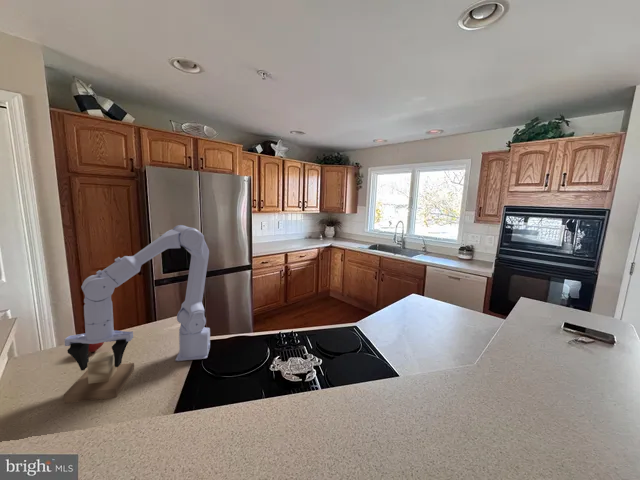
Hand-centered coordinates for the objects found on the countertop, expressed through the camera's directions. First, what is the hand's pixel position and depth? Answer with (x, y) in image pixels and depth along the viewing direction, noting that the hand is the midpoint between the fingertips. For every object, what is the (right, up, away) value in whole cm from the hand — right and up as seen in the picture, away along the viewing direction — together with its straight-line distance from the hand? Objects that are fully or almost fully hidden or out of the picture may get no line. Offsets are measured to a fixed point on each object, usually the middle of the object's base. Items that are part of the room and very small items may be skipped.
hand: (101, 366), depth 70 cm
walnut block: (0, -6, +1) cm, 6 cm away
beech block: (0, -3, 0) cm, 3 cm away
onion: (-16, -3, +15) cm, 22 cm away
